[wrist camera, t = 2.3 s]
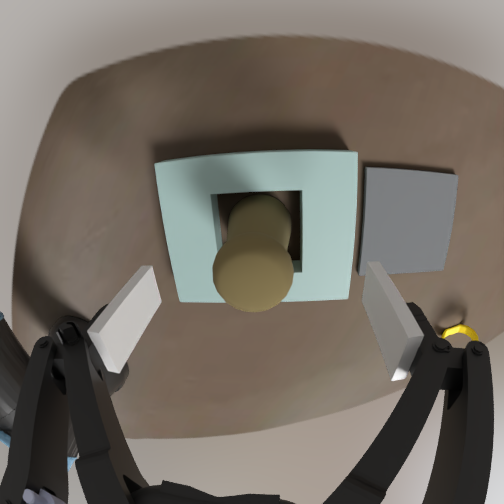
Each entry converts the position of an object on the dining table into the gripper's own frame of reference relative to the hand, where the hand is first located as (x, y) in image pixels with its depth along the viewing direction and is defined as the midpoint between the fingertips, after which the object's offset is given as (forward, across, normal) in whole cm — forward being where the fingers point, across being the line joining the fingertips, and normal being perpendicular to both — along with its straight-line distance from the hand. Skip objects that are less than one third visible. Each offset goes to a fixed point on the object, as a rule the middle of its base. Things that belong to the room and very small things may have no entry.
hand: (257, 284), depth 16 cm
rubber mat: (+11, -15, 0) cm, 19 cm away
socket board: (+11, +1, 0) cm, 11 cm away
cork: (+11, +1, 0) cm, 11 cm away
